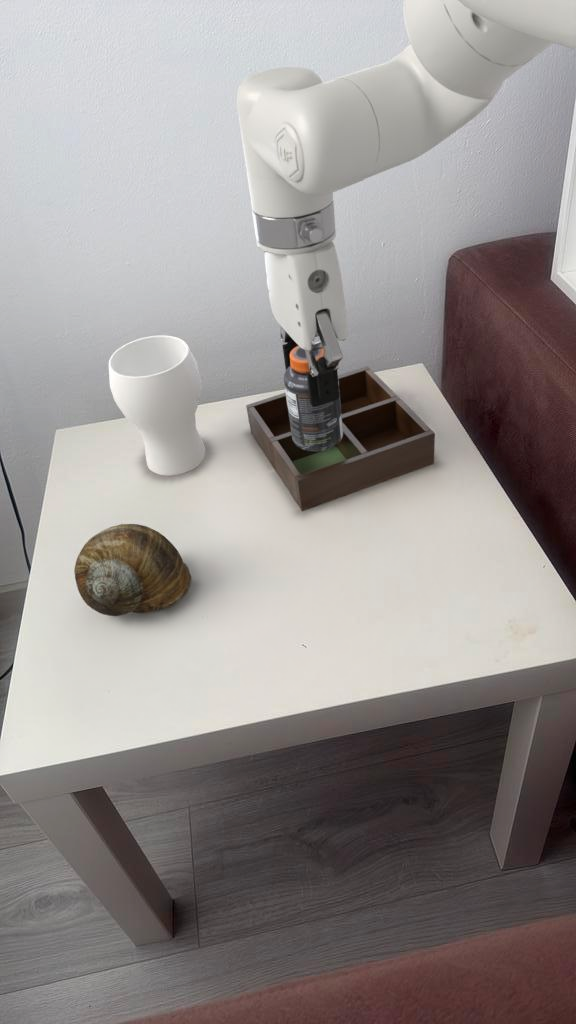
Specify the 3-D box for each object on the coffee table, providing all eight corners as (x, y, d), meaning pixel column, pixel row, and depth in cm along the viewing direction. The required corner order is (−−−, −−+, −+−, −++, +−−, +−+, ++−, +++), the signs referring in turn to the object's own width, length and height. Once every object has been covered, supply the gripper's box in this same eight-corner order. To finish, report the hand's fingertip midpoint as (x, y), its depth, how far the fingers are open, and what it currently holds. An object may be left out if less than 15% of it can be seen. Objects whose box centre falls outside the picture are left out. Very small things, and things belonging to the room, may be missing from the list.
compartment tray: (434, 463, 89) (435, 433, 86) (301, 511, 85) (297, 481, 82) (369, 394, 101) (367, 365, 98) (251, 433, 97) (245, 405, 94)
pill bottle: (350, 426, 86) (344, 340, 78) (332, 457, 82) (323, 369, 75) (304, 418, 88) (293, 334, 81) (283, 448, 84) (271, 362, 77)
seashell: (80, 633, 75) (55, 581, 70) (93, 567, 82) (70, 515, 77) (190, 620, 75) (172, 566, 69) (193, 555, 82) (177, 501, 76)
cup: (179, 423, 101) (153, 324, 91) (233, 449, 95) (212, 347, 85) (119, 464, 96) (85, 364, 86) (173, 494, 90) (143, 390, 80)
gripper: (372, 243, 63) (379, 416, 75) (296, 188, 76) (312, 344, 88) (292, 266, 62) (312, 439, 74) (227, 205, 74) (253, 362, 86)
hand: (312, 385), depth 80 cm, fingers closed on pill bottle, 6 cm apart
